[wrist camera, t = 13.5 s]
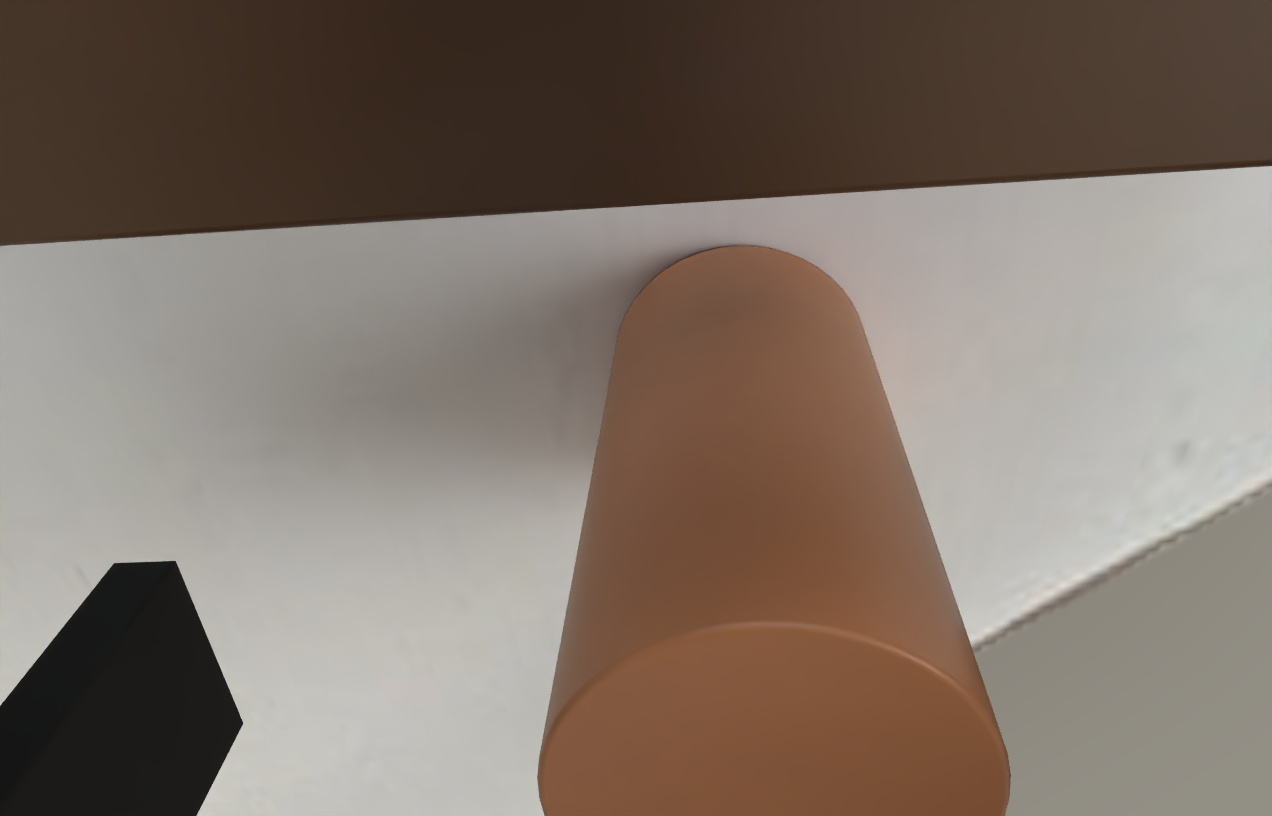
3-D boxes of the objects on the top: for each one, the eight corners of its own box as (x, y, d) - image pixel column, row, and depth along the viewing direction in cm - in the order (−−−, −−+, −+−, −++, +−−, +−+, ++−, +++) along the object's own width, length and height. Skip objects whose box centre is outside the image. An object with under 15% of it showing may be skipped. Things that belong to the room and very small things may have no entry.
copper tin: (603, 251, 18) (502, 630, 9) (870, 236, 17) (1040, 620, 8) (626, 472, 20) (565, 943, 11) (862, 463, 19) (989, 948, 11)
